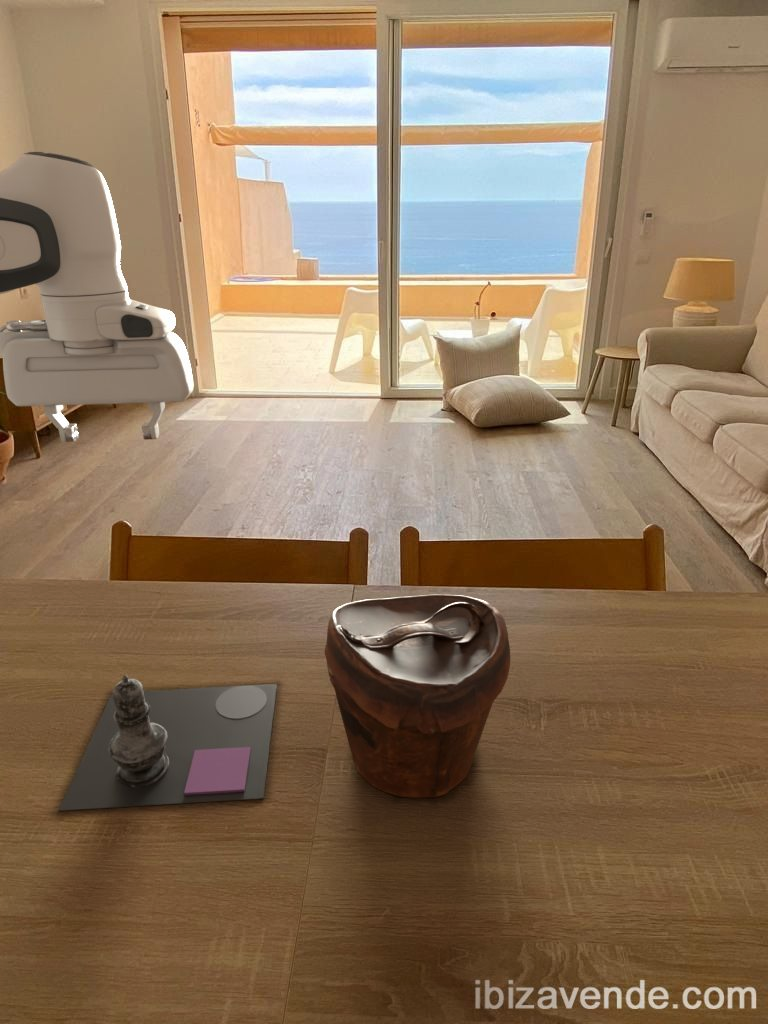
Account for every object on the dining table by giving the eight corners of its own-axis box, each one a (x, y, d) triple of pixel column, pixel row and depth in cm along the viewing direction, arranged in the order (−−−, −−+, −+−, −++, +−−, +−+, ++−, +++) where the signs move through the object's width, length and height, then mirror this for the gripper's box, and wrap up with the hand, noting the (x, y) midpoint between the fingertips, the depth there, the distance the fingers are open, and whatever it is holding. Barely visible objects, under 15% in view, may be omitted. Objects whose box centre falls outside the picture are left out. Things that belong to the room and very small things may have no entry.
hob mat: (58, 811, 68) (58, 810, 68) (112, 693, 85) (111, 692, 85) (263, 798, 69) (263, 797, 69) (277, 684, 86) (276, 683, 86)
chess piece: (102, 783, 71) (79, 689, 66) (133, 744, 76) (115, 653, 71) (153, 794, 70) (134, 698, 65) (182, 752, 75) (166, 661, 70)
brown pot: (532, 731, 78) (545, 593, 70) (443, 860, 63) (448, 701, 55) (398, 676, 87) (398, 549, 80) (293, 777, 72) (280, 631, 64)
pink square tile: (184, 795, 70) (183, 793, 70) (195, 752, 75) (194, 750, 75) (244, 791, 70) (244, 789, 70) (250, 748, 76) (250, 746, 75)
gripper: (-22, 325, 73) (9, 450, 78) (176, 321, 74) (192, 445, 80) (4, 316, 79) (31, 433, 84) (187, 313, 80) (202, 428, 85)
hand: (111, 439), depth 82 cm, fingers open, 8 cm apart
